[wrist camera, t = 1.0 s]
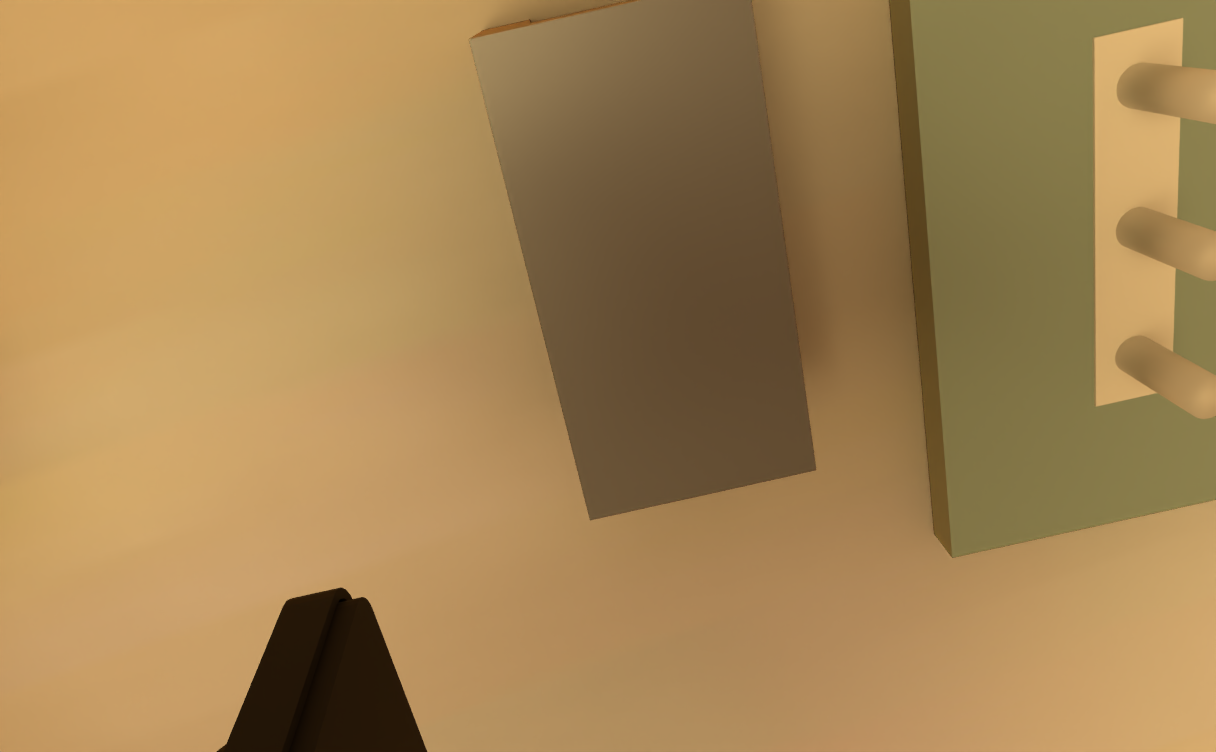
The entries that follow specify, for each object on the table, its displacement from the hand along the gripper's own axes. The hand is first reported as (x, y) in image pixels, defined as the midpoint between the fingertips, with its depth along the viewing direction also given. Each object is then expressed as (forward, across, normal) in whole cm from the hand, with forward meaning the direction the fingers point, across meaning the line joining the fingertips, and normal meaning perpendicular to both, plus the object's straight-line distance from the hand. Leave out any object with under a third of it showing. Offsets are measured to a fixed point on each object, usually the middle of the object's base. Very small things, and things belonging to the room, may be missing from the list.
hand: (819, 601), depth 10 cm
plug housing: (+19, 0, 0) cm, 19 cm away
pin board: (+19, -14, +3) cm, 24 cm away
